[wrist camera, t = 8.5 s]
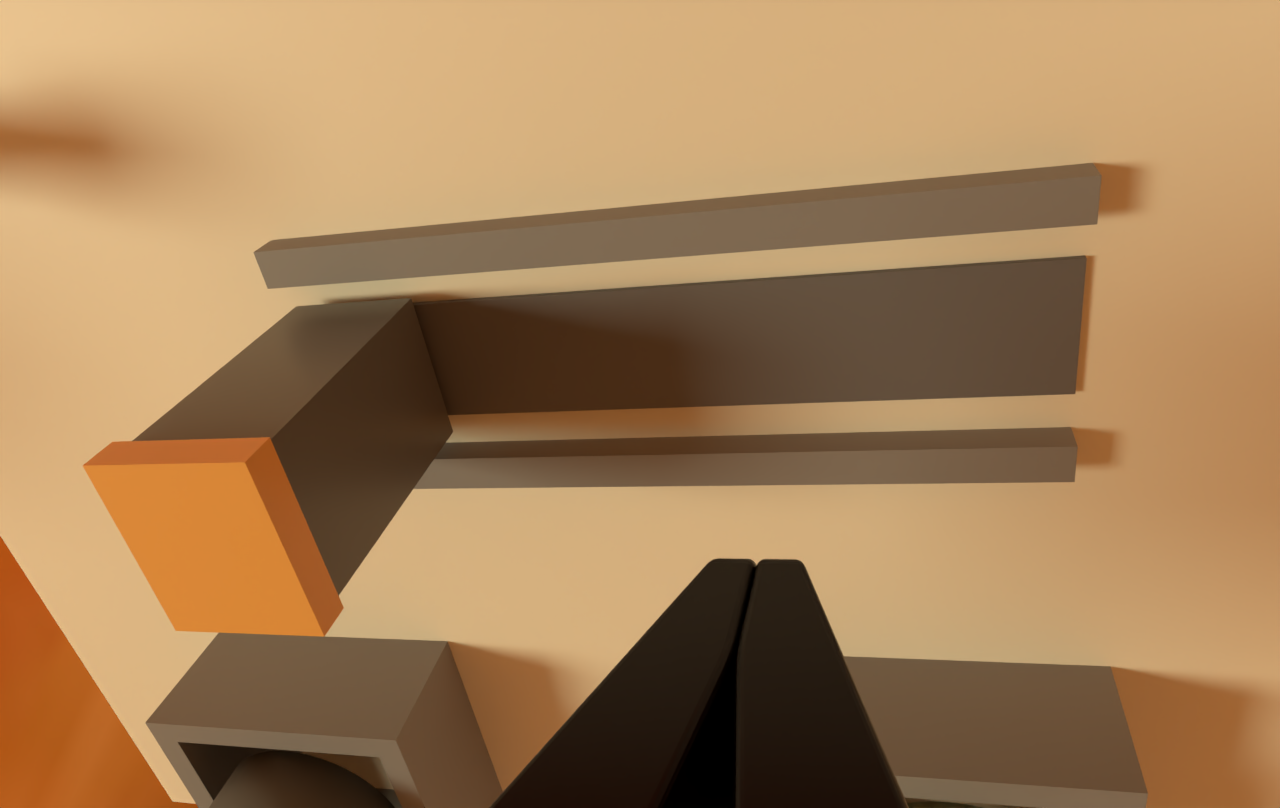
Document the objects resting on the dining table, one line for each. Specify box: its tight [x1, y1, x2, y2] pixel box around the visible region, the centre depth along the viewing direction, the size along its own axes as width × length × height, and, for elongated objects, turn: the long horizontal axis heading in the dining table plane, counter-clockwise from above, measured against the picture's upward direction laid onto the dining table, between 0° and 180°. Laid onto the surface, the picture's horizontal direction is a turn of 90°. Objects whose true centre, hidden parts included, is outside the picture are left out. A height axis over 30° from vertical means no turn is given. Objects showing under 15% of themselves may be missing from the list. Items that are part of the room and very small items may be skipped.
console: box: [0, 0, 1280, 808], centre depth 15 cm, size 19×26×8 cm
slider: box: [83, 298, 453, 637], centre depth 13 cm, size 3×2×4 cm
